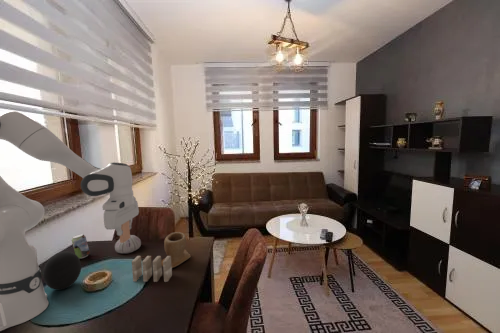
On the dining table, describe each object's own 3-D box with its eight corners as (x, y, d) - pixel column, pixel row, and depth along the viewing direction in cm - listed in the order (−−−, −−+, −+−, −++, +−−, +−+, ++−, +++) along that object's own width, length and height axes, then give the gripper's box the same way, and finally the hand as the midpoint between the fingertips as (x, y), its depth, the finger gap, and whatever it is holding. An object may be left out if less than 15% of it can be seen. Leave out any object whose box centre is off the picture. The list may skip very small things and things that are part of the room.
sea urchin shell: (146, 245, 141) (145, 231, 140) (131, 256, 127) (130, 241, 126) (125, 244, 143) (124, 230, 142) (109, 254, 129) (107, 240, 128)
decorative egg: (52, 282, 104) (48, 249, 102) (86, 276, 108) (83, 244, 107) (39, 299, 93) (34, 262, 91) (77, 292, 97) (74, 256, 95)
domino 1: (120, 242, 102) (118, 221, 101) (126, 237, 107) (125, 218, 106) (123, 242, 102) (122, 221, 101) (130, 237, 107) (128, 218, 106)
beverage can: (88, 258, 125) (86, 236, 124) (71, 261, 123) (69, 238, 121) (91, 253, 131) (89, 231, 130) (75, 255, 128) (73, 234, 127)
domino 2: (133, 281, 104) (131, 261, 103) (138, 274, 109) (137, 255, 108) (136, 281, 104) (135, 261, 103) (142, 274, 109) (141, 255, 108)
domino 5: (164, 281, 103) (162, 261, 102) (168, 275, 108) (167, 255, 107) (167, 281, 103) (166, 261, 102) (172, 275, 108) (170, 255, 107)
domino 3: (143, 281, 104) (142, 261, 103) (148, 275, 109) (147, 255, 108) (147, 281, 104) (145, 261, 103) (152, 275, 109) (151, 255, 108)
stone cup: (173, 273, 110) (171, 241, 108) (156, 266, 116) (154, 236, 115) (197, 259, 123) (196, 230, 121) (181, 253, 129) (179, 226, 127)
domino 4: (153, 281, 104) (152, 261, 103) (158, 275, 109) (157, 255, 108) (157, 281, 104) (156, 261, 103) (162, 275, 108) (160, 255, 108)
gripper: (128, 195, 113) (130, 223, 115) (99, 207, 93) (102, 241, 94) (141, 195, 113) (143, 223, 114) (115, 207, 93) (118, 241, 94)
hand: (124, 232), depth 104 cm, fingers closed on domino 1, 5 cm apart
